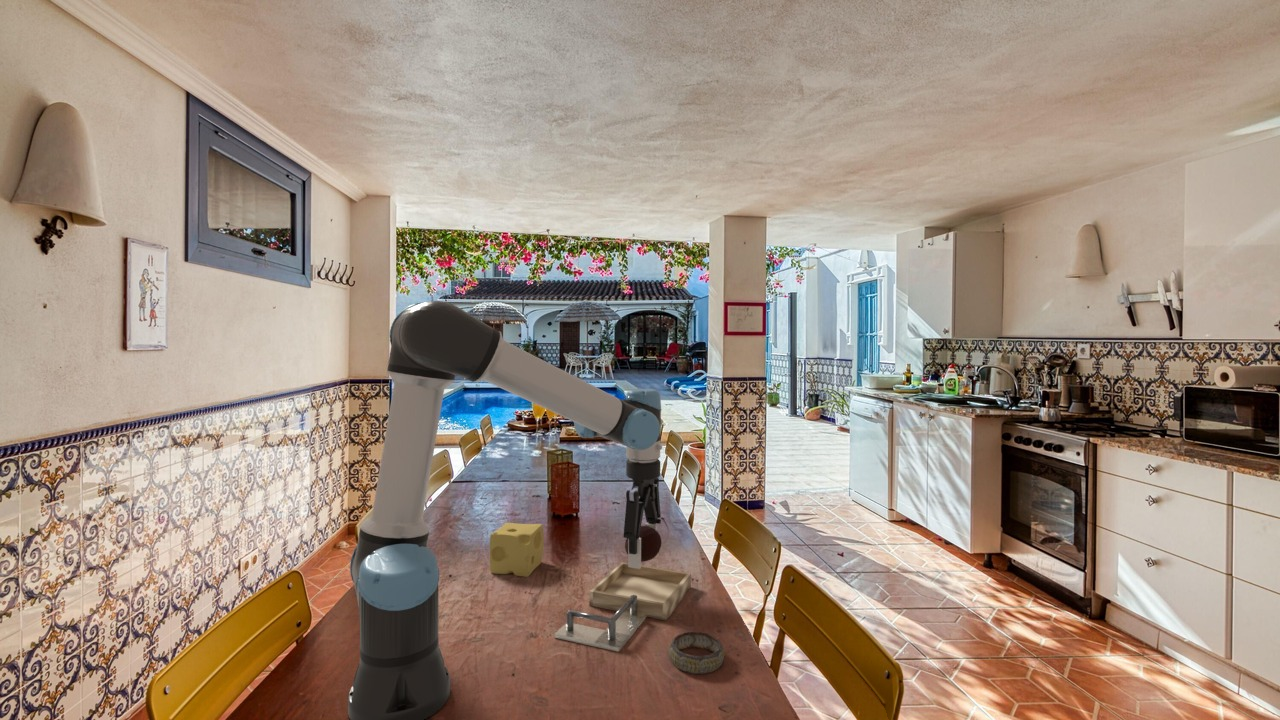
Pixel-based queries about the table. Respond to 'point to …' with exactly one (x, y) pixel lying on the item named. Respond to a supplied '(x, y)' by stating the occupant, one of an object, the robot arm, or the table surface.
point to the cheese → (516, 549)
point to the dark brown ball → (648, 543)
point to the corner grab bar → (610, 638)
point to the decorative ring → (696, 662)
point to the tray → (642, 590)
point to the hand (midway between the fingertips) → (642, 559)
